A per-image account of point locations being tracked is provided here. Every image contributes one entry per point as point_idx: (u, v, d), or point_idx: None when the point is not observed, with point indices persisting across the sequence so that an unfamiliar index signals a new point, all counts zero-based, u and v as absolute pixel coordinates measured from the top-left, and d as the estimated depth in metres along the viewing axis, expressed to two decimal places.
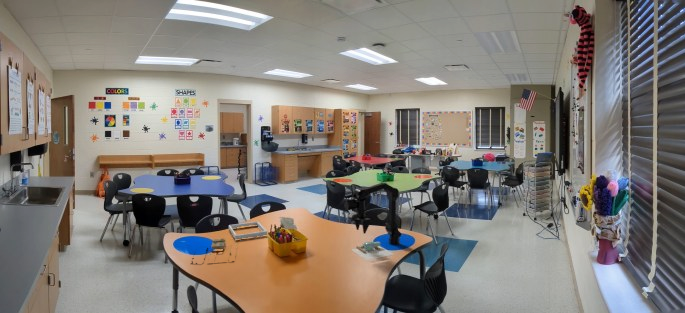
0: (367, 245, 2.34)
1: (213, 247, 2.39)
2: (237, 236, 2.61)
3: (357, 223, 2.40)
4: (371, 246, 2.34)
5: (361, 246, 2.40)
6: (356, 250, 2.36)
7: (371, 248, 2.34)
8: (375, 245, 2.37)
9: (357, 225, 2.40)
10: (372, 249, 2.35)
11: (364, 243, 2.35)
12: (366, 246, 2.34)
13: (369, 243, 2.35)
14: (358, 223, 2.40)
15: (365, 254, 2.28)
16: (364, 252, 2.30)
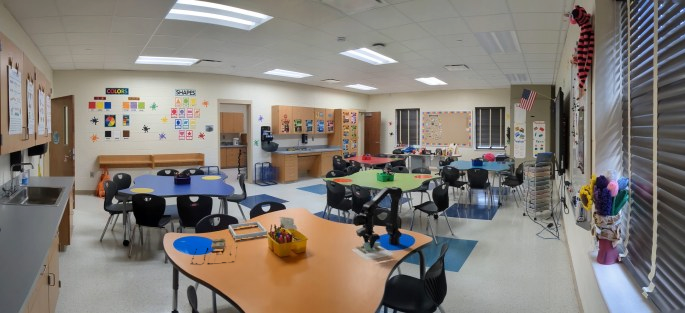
0: (367, 245, 2.34)
1: (213, 247, 2.39)
2: (237, 236, 2.61)
3: (366, 238, 2.39)
4: None
5: (361, 246, 2.40)
6: (356, 250, 2.36)
7: (371, 248, 2.34)
8: (375, 245, 2.37)
9: (366, 241, 2.39)
10: (372, 249, 2.35)
11: (364, 243, 2.35)
12: (366, 246, 2.34)
13: (369, 243, 2.35)
14: (367, 239, 2.39)
15: (365, 254, 2.28)
16: (364, 252, 2.30)
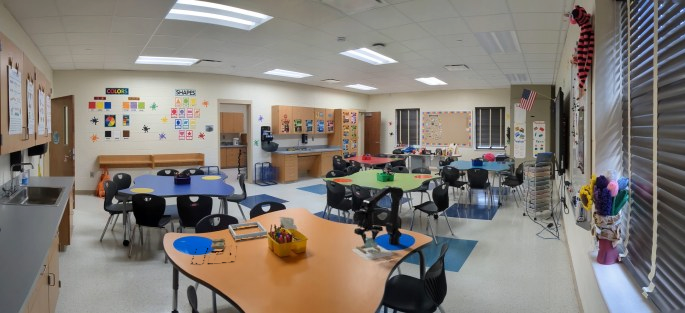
0: None
1: (213, 247, 2.39)
2: (237, 236, 2.61)
3: (373, 235, 2.38)
4: None
5: (361, 246, 2.40)
6: (356, 250, 2.36)
7: (365, 244, 2.34)
8: (370, 244, 2.32)
9: (372, 237, 2.38)
10: (366, 245, 2.34)
11: (367, 237, 2.39)
12: None
13: (367, 239, 2.36)
14: (373, 236, 2.37)
15: (365, 254, 2.28)
16: (364, 252, 2.30)
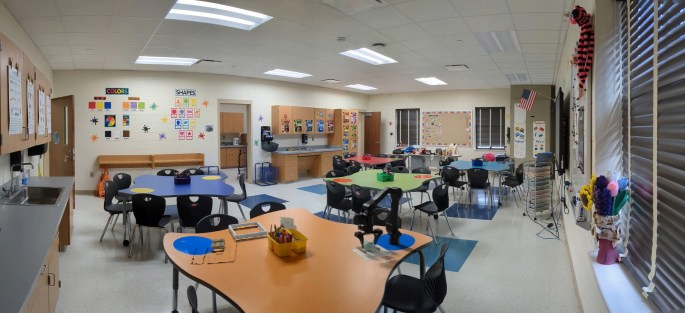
0: None
1: (212, 247, 2.39)
2: (237, 236, 2.61)
3: (375, 238, 2.38)
4: (365, 246, 2.35)
5: (361, 246, 2.40)
6: (356, 250, 2.36)
7: (365, 248, 2.35)
8: (370, 248, 2.32)
9: (374, 240, 2.38)
10: (365, 249, 2.34)
11: (367, 241, 2.39)
12: None
13: (367, 243, 2.36)
14: (375, 239, 2.37)
15: (365, 254, 2.28)
16: (364, 252, 2.30)
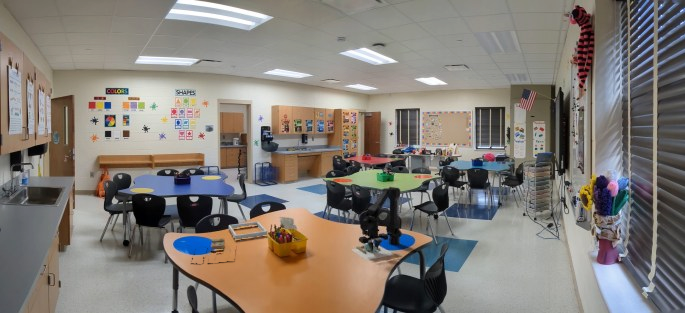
0: None
1: (212, 247, 2.39)
2: (237, 236, 2.61)
3: (376, 244, 2.31)
4: (365, 246, 2.35)
5: (361, 246, 2.40)
6: (356, 250, 2.36)
7: (365, 248, 2.35)
8: None
9: None
10: (365, 249, 2.34)
11: None
12: None
13: (367, 243, 2.36)
14: (376, 245, 2.31)
15: (365, 254, 2.28)
16: (364, 252, 2.30)
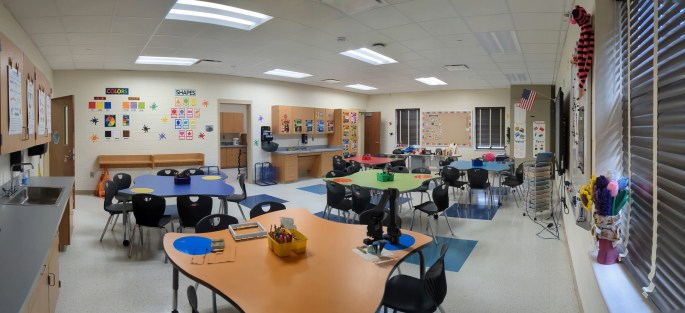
0: None
1: (212, 247, 2.39)
2: (237, 236, 2.61)
3: (380, 246, 2.26)
4: (368, 248, 2.31)
5: (361, 246, 2.40)
6: (356, 250, 2.36)
7: (368, 250, 2.31)
8: (373, 250, 2.28)
9: (380, 248, 2.26)
10: (368, 251, 2.31)
11: None
12: None
13: (370, 245, 2.32)
14: (380, 247, 2.25)
15: (365, 254, 2.28)
16: (364, 252, 2.30)
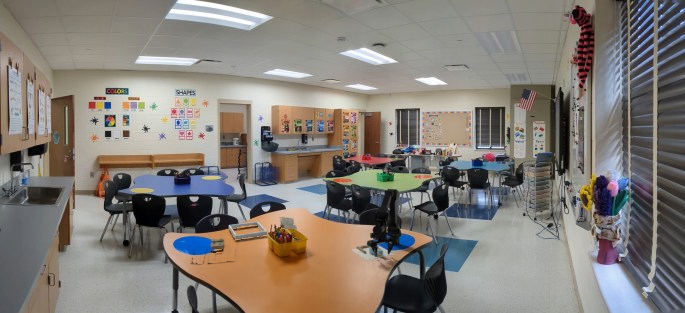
0: (369, 247, 2.31)
1: (212, 247, 2.39)
2: (237, 236, 2.61)
3: (389, 247, 2.23)
4: (370, 249, 2.28)
5: (361, 246, 2.40)
6: (356, 250, 2.36)
7: (370, 251, 2.28)
8: None
9: (388, 249, 2.23)
10: (371, 253, 2.28)
11: None
12: None
13: None
14: (389, 248, 2.23)
15: (365, 254, 2.28)
16: (364, 252, 2.30)
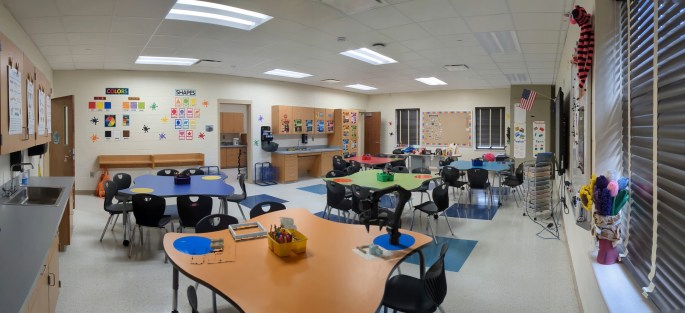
0: (369, 247, 2.31)
1: (212, 247, 2.39)
2: (237, 236, 2.61)
3: (380, 224, 2.43)
4: (370, 249, 2.28)
5: (361, 246, 2.40)
6: (356, 250, 2.36)
7: (370, 251, 2.28)
8: (376, 251, 2.25)
9: (380, 226, 2.43)
10: (371, 253, 2.28)
11: None
12: None
13: (372, 246, 2.29)
14: (381, 225, 2.42)
15: (365, 254, 2.28)
16: (364, 252, 2.30)
